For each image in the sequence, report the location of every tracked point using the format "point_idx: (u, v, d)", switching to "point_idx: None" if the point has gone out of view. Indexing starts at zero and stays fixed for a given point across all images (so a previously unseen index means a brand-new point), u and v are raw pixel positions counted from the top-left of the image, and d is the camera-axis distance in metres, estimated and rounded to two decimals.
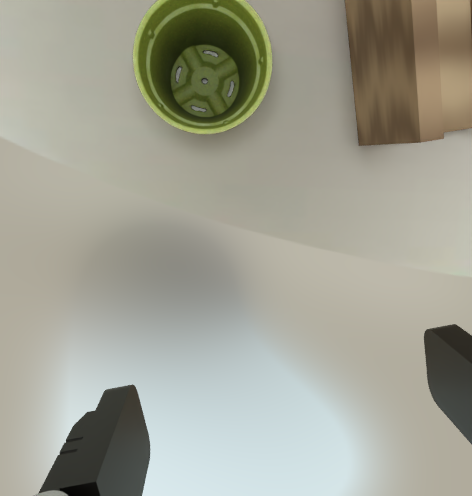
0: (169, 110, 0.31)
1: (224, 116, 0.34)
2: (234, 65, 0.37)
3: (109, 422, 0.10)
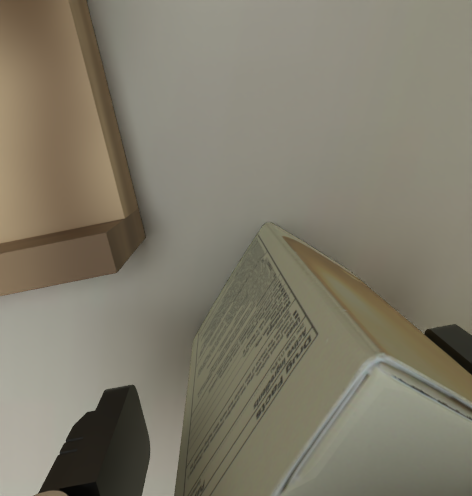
0: None
1: None
2: None
3: (109, 422, 0.10)
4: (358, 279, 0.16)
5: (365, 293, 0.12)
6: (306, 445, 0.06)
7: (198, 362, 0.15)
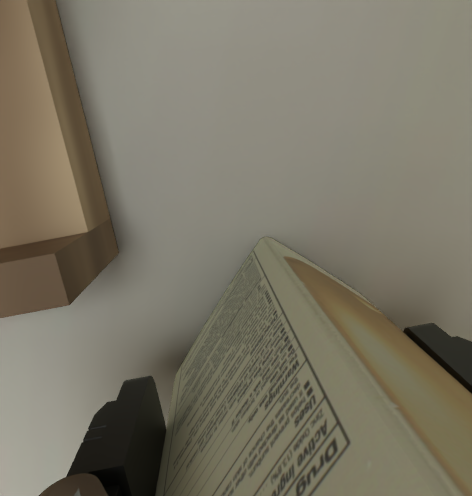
0: None
1: None
2: None
3: (131, 410, 0.10)
4: (374, 307, 0.13)
5: (393, 337, 0.09)
6: None
7: (178, 411, 0.12)
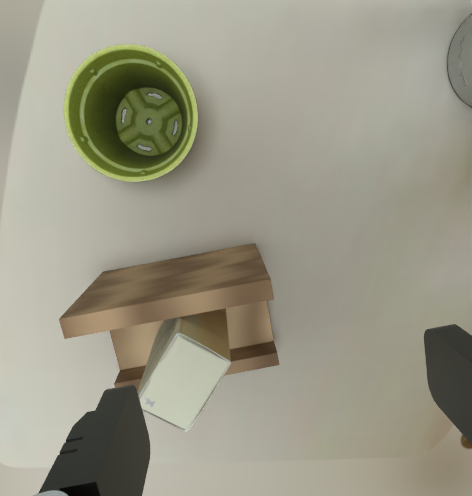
0: (92, 81, 0.32)
1: (102, 139, 0.35)
2: (164, 151, 0.39)
3: (109, 422, 0.10)
4: None
5: (209, 316, 0.34)
6: (165, 352, 0.28)
7: (155, 342, 0.37)
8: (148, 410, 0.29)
